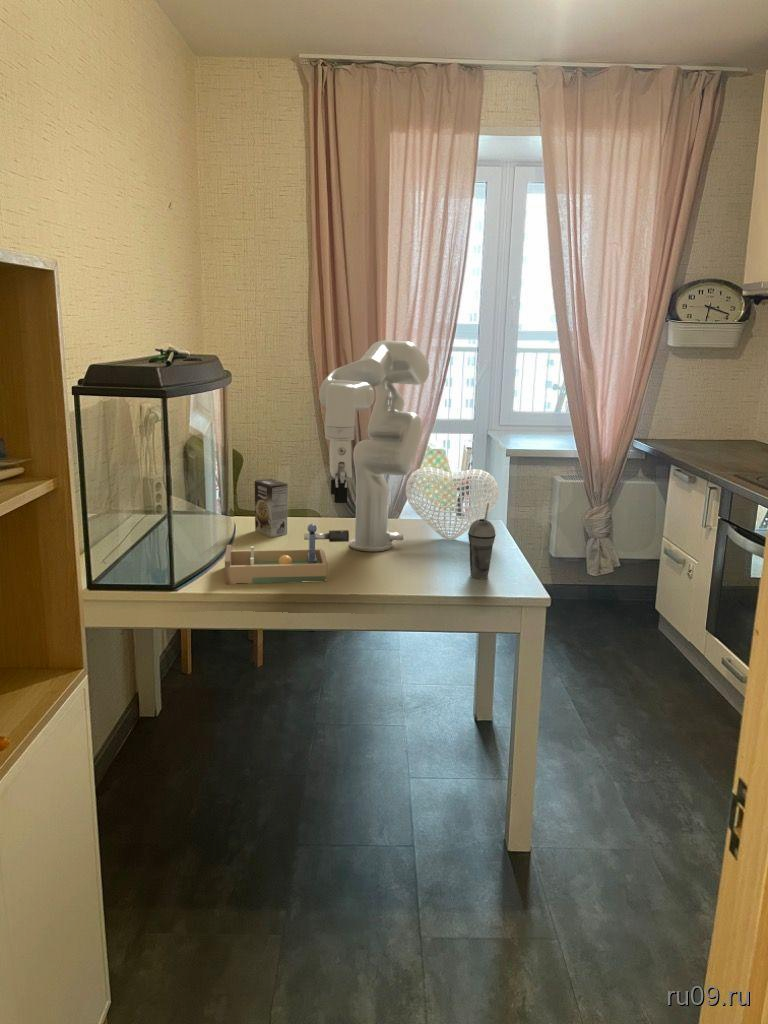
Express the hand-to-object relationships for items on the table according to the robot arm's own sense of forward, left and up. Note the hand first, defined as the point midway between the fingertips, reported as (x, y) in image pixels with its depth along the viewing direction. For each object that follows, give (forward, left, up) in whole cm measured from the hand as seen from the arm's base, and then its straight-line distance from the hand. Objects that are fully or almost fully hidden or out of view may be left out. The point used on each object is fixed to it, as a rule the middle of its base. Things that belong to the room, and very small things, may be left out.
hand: (338, 498), depth 204 cm
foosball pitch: (+16, 0, -20) cm, 26 cm away
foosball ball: (+14, 0, -17) cm, 22 cm away
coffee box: (+17, -39, -21) cm, 47 cm away
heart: (-37, -28, -20) cm, 51 cm away
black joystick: (+3, 0, -18) cm, 19 cm away
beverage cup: (-37, +6, -20) cm, 43 cm away
